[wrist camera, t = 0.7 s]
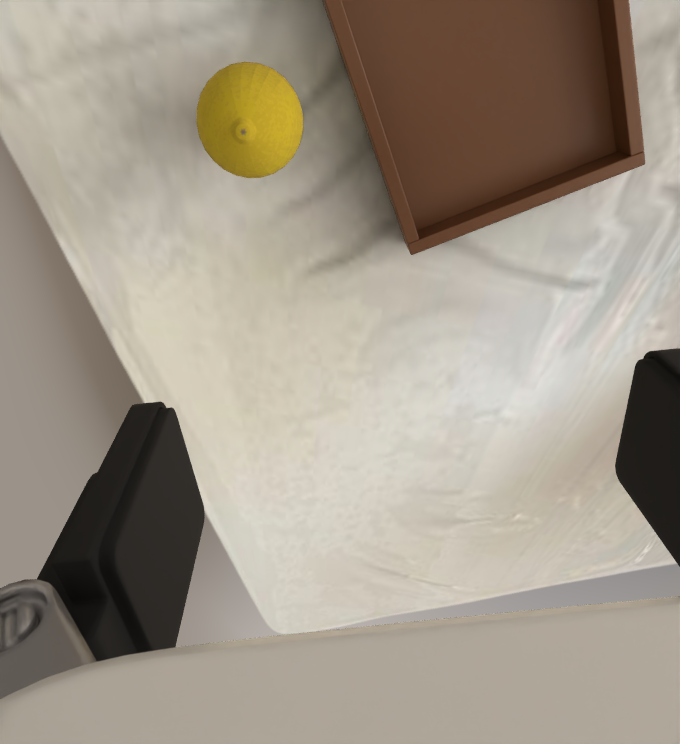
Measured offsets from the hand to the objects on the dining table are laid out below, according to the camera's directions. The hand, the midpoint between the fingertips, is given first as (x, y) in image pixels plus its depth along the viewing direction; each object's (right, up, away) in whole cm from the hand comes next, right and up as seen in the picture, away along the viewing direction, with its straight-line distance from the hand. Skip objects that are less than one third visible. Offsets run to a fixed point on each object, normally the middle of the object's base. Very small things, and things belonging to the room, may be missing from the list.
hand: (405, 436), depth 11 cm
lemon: (-6, +17, +22) cm, 28 cm away
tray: (+7, +19, +20) cm, 29 cm away
